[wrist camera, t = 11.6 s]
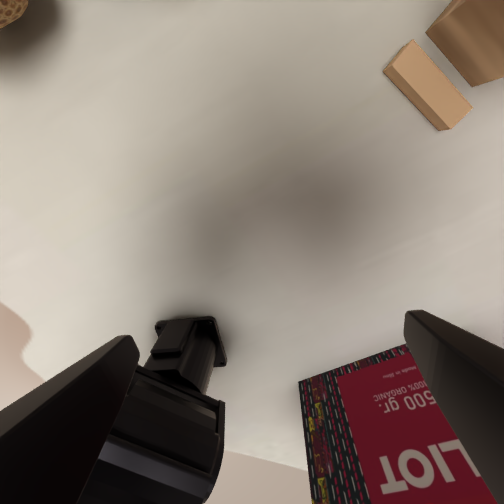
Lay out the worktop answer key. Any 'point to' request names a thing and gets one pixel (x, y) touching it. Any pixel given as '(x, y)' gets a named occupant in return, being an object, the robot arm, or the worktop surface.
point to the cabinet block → (472, 38)
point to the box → (383, 437)
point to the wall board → (427, 87)
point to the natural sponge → (11, 10)
